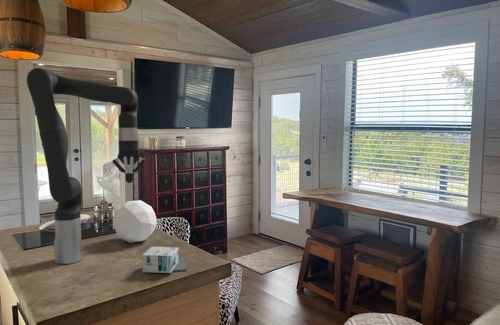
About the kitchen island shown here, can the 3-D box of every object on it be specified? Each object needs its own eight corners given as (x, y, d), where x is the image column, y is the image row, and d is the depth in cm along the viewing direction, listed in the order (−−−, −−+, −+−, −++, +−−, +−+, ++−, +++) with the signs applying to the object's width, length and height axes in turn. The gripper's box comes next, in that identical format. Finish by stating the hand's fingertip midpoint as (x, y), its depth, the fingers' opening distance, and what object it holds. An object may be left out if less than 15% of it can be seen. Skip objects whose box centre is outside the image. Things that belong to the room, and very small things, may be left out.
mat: (153, 273, 143) (153, 271, 143) (154, 260, 156) (154, 258, 156) (186, 270, 145) (186, 269, 145) (184, 258, 159) (184, 256, 159)
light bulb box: (142, 272, 141) (171, 273, 141) (141, 254, 141) (171, 255, 140) (151, 262, 152) (179, 263, 151) (151, 245, 151) (179, 246, 151)
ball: (132, 258, 178) (109, 231, 166) (122, 233, 193) (101, 206, 181) (168, 235, 182) (149, 207, 170) (156, 213, 197) (137, 185, 185)
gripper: (109, 139, 149) (110, 184, 151) (145, 139, 152) (146, 183, 154) (112, 139, 157) (113, 181, 158) (146, 139, 159) (147, 181, 161)
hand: (129, 182), depth 156 cm, fingers closed
